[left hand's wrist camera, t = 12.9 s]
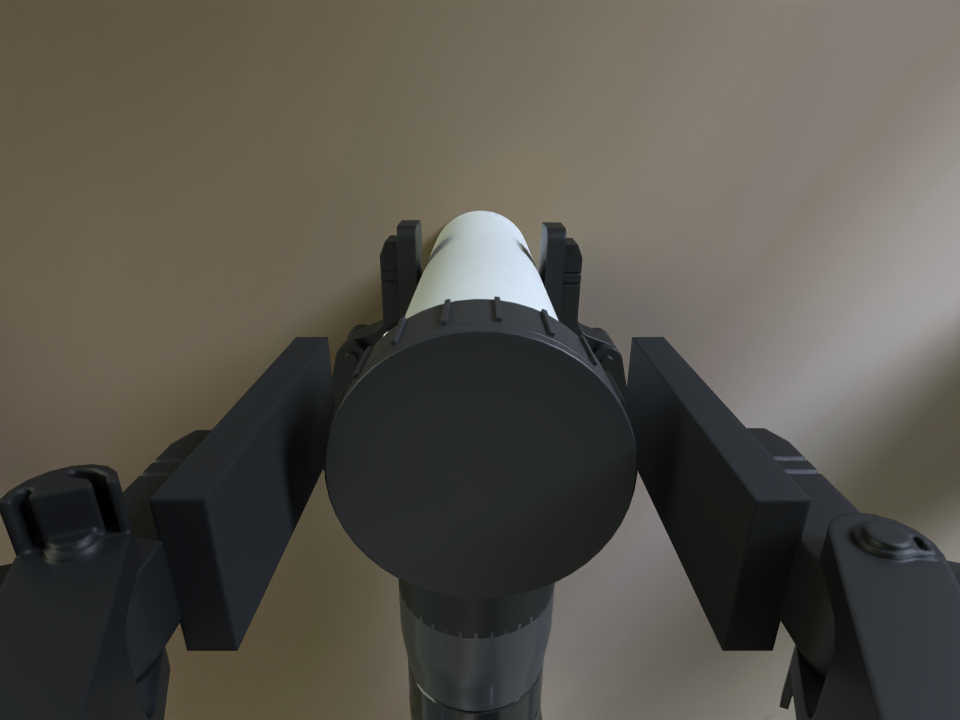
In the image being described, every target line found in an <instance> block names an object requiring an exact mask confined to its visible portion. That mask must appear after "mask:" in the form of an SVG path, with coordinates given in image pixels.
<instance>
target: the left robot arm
mask: <svg viewBox="0 0 960 720" xmlns="http://www.w3.org/2000/svg"><path fill="white" fill-rule="evenodd" d="M625 402H626V404H625V412H626V414H627V416H628V419H629V421H630V424H631V427H632V430H633V434H634V437H635V443H636V450H637V470H638V472H639V474H640V476H641V478H642V480H643V483H644V485H645V487H646V489H647V491H648V493H649V495H650V497H651V500H652V502H653V504H654V506H655V508H656V510H657V512H658V514H659V517H660V519H661V521H662V523H663V525H664V527H665V529H666V531H667V534H668V536H669V538H670V540H671V542H672V544H673V546H674V548H675V550H676V553H677V555H678V557H679V559H680V561H681V563H682V565H683V567H684V570H685V572H686V574H687V576H688V578H689V580H690V582H691V584H692V587H693V589H694V591H695V593H696V595H697V597H698V599H699V601H700V604H701V606H702V608H703V610H704V612H705V614H706V616H707V618H708V621H709V623H710V625H711V627H712V629H713V631H714V633H715V635H716V638H717V640H718V642H719V644H720V646H721V648H722V650H723V651H773V647H774V643H775V639H776V636H777V632H778V628H779V624H780V620H781V622H782V623H783V625H784V626H785V628H786V630H787V631H788V633H789V634H790V636H791V638H792V639H793V641H794V643H795V644H796V645H795V648H794V652H793V655H792V659H791V663H790V666H789V670H788V673H787V677H786V681H785V684H784V688H783V692H782V696H781V702H780V707H782V708H785V709H788V708H789V704H790V701H791V697H792V696H794V704H795V712H796V720H960V563H956V562H951V561H947V560H946V559H945V557H944V555H943V554H942V553H941V551H940V550H939V549H938V548H937V547H936V545H935V544H934V543H933V542H932V541H930V540H929V539H927V538H926V537H925V536H923V535H922V534H920V533H919V532H917V531H916V530H914V529H912V528H910V527H908V526H905V525H903V524H901V523H899V522H897V521H894V520H891V519H887V518H884V517H880V516H877V515H873V514H864V513H860V512H859V511H858V510H857V509H856V508H855V507H854V506H853V505H852V504H851V503H850V502H849V501H848V500H847V499H846V498H845V497H844V496H843V495H842V494H841V493H840V492H839V491H838V490H837V489H836V488H835V487H834V486H833V485H832V484H831V483H830V482H829V481H828V480H827V479H826V478H825V477H824V476H823V475H822V474H818V470H817V469H816V468H815V467H814V466H813V465H812V464H811V463H810V462H809V461H805V459H804V456H802V455H801V454H800V453H799V452H798V451H797V450H796V449H795V448H794V447H793V446H792V445H791V444H790V443H789V442H788V441H786V440H785V439H783V438H781V437H779V436H777V435H776V434H774V433H772V432H770V431H768V430H767V429H765V428H746V427H745V426H744V425H743V424H742V423H741V422H740V421H739V420H738V419H737V417H736V416H735V415H734V414H733V413H732V412H731V411H730V410H729V409H728V408H727V406H726V405H725V404H724V403H723V402H722V401H721V400H720V399H719V398H718V397H717V395H716V394H715V393H714V392H713V391H712V390H711V389H710V388H709V387H708V386H707V384H706V383H705V382H704V381H703V380H702V379H701V378H700V377H699V376H698V375H697V373H696V372H695V371H694V370H693V369H692V368H691V367H690V366H689V365H688V364H687V362H686V361H685V360H684V359H683V358H682V357H681V356H680V355H679V354H678V353H677V351H676V350H675V349H674V348H673V347H672V346H671V345H670V344H669V343H668V342H667V341H666V339H665V338H664V337H632V344H631V354H630V363H629V373H628V382H627V392H626V401H625ZM334 409H335V401H334V392H333V382H332V373H331V363H330V354H329V344H328V337H296V338H295V339H294V340H293V342H292V343H291V344H290V345H289V346H288V347H287V348H286V349H285V350H284V351H283V353H282V354H281V355H280V356H279V357H278V358H277V359H276V360H275V361H274V362H273V364H272V365H271V366H270V367H269V368H268V369H267V370H266V371H265V372H264V373H263V375H262V376H261V377H260V378H259V379H258V380H257V381H256V382H255V383H254V384H253V386H252V387H251V388H250V389H249V390H248V391H247V392H246V393H245V394H244V395H243V397H242V398H241V399H240V400H239V401H238V402H237V403H236V404H235V405H234V406H233V408H232V409H231V410H230V411H229V412H228V413H227V414H226V415H225V416H224V417H223V419H222V420H221V421H220V422H219V423H218V424H217V425H216V426H215V427H214V428H213V430H195V431H194V432H192V433H190V434H188V435H187V436H185V437H183V438H181V439H179V440H178V441H176V442H174V443H172V444H171V445H170V446H169V447H168V448H167V449H166V450H165V451H164V452H163V453H162V454H161V455H160V456H159V457H158V458H157V459H156V463H152V464H151V465H150V466H149V467H148V468H147V469H146V470H145V471H144V472H143V476H139V477H138V478H137V479H136V480H135V481H134V482H133V483H132V484H131V485H130V486H129V487H128V488H127V489H126V490H125V491H124V492H123V493H122V489H121V486H120V482H119V478H118V475H117V472H116V471H114V470H113V469H111V468H110V467H108V466H101V465H94V464H90V465H78V466H70V467H66V468H62V469H58V470H54V471H50V472H47V473H45V474H42V475H39V476H37V477H34V478H32V479H29V480H27V481H25V482H24V483H22V484H20V485H18V486H17V487H15V488H13V489H12V490H10V491H8V492H7V493H6V494H5V495H4V496H3V497H2V498H1V499H0V513H1V516H2V519H3V521H4V524H5V527H6V529H7V532H8V535H9V537H10V540H11V543H12V545H13V548H14V551H15V553H16V558H15V560H14V562H13V563H12V564H8V565H3V566H0V720H164V714H165V706H166V698H167V690H168V683H169V675H170V666H169V660H168V655H167V652H166V648H165V646H166V644H167V642H168V641H169V639H170V637H171V636H172V634H173V633H174V631H175V629H176V628H177V626H178V625H179V623H180V624H181V628H182V632H183V636H184V639H185V643H186V647H187V651H237V650H238V648H239V646H240V644H241V642H242V640H243V637H244V635H245V633H246V631H247V629H248V627H249V625H250V623H251V621H252V618H253V616H254V614H255V612H256V610H257V608H258V606H259V604H260V601H261V599H262V597H263V595H264V593H265V591H266V589H267V587H268V584H269V582H270V580H271V578H272V576H273V574H274V572H275V570H276V567H277V565H278V563H279V561H280V559H281V557H282V555H283V553H284V550H285V548H286V546H287V544H288V542H289V540H290V538H291V536H292V533H293V531H294V529H295V527H296V525H297V523H298V521H299V519H300V516H301V514H302V512H303V510H304V508H305V506H306V504H307V502H308V500H309V497H310V495H311V493H312V491H313V489H314V487H315V485H316V483H317V480H318V478H319V476H320V474H321V472H322V470H323V468H324V458H325V445H326V441H327V437H328V433H329V428H330V426H331V423H332V421H333V419H331V415H332V412H333V411H334Z"/></svg>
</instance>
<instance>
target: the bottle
mask: <svg viewBox="0 0 960 720" xmlns="http://www.w3.org/2000/svg"><path fill="white" fill-rule="evenodd" d="M495 296H497V297H500V300H502V301H508V302H514V303H517V304H521V305H524V306H527V307H531V308H534V309H536V310H538V311H540V312H541V310H542V309H545V310H547V312H548V315H549V316H551V317H553V318H554V319H556V320H557V321H558V318H557V316H556V314H555V311H554V309H553V306H552V304H551V302H550V299H549V297H548V294H547V292H546V290H545V287H544V285H543V283H542V280H541V278H540V275H539V273H538V271H537V268H536V266H535V263H534V261H533V259H532V256H531V254H530V251H529V249H528V247H527V244H526V242H525V240H524V238H523V236H522V234H521V232H520V231H519V229H518V228H517V227H516V226H515V225H514V224H513V223H512V222H511V221H510V220H508V219H507V218H505V217H503V216H501V215H499V214H496V213H493V212H488V211H473V212H468V213H465V214H462V215H460V216H458V217H456V218H455V219H453V220H452V221H451V222H449V223H448V224H447V225H446V226H445V227H444V229H443V230H442V231H441V233H440V234H439V236H438V238H437V241H436V243H435V245H434V248H433V250H432V252H431V255H430V257H429V260H428V262H427V265H426V267H425V269H424V272H423V274H422V277H421V279H420V281H419V284H418V286H417V289H416V291H415V293H414V296H413V298H412V301H411V303H410V305H409V308H408V310H407V313H406V315H405V317H406V319H407V318H409V317H411V316H413V315H415V314H417V313H419V312H421V311H423V310H426V309H429V308H431V307H434V306H437V305H440V304H444V302H445V300H446V299H450V300H451V302H454V301H459V300H470V299H494V297H495Z"/></svg>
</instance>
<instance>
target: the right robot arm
mask: <svg viewBox="0 0 960 720" xmlns="http://www.w3.org/2000/svg"><path fill="white" fill-rule="evenodd" d="M380 265H381V280H382V301H383V319H382V320H381V321H379V322H377V323H374V324H371V325H357V326H355V327H354V328H353V329H352V330H351V332H350V333H349V335H348V338H347V340H346V341H345V343H343V344H342V345H341V347H340V348H339V350H338V352H337V354H336V360H335V365H334V371H333V376H332V382H333V392H334V401H335V407H336V405H337V403H338V401H339V399H340V397H341V396H342V394H343V392H344V390H345V388H346V386H347V384H351V382H352V380H353V377H352V375H353V373H354V371H355V369H356V368H357V366H358V364H359V362H360V360H361V358H362V356H363V354H364V353H365V351H366V349H367V348H368V346H370V347H371V348H373V347H374V345H375V344H376V343H377V342H378V341H379V340H380V339H381V338H382V337H383V336H384V335H385V334H386V333H388V332H389V331H390V330H391V329H392V328H394V327H395V326H397V325H398V323H399V320H400V318H402V317H403V316H405V315H406V313H407V310H408V308H409V305H410V303H411V301H412V298H413V296H414V293H415V291H416V289H417V286H418V284H419V281H420V279H421V277H422V274H423V270H422V234H421V221H420V220H402V221H401V222H400V223H399V224H398V226H397V236H389V238H388V239H387V240H386V241H385V242H384V245H383V248H382V251H381V254H380ZM581 267H582V256H581V253H580V250H579V246H578V244H577V243H576V242H575V241H574V240H573V238H566V228H565V227H564V226H563V225H562V224H561V223H553V222H543V223H542V229H541V246H540V266H539V275H540V278H541V280H542V283H543V285H544V287H545V290H546V292H547V294H548V297H549V299H550V302H551V304H552V306H553V309H554V311H555V314H556V316H557V318H558V321H559V322H561V323H562V324H564V325H565V326H567V327H568V328H569V329H570V330H572V331H573V332H574V333H575V334H576V335H578V336H579V337H580V336H581V335H583V336H584V337H585V338H586V340H587V342H588V344H589V346H590V348H591V350H592V352H593V354H594V355H595V356H596V358H597V359H598V361H599V362H600V364H601V366H602V368H603V370H604V372H605V371H607V370H609V372H610V374H611V376H612V378H613V380H614V382H615V383H616V385H617V387H618V389H619V391H620V393H621V394H622V396H623V398H624V400H625V401H626V392H627V386H626V380H625V374H624V368H623V361H622V356H621V354H620V353H619V351H618V350H617V348H616V346H615V345H614V343H613V342H612V340H611V339H610V337H609V335H608V334H607V333H606V331H604V330H603V329H600V328H590V327H587V326H584V325H582V324H580V323H579V322H578V321H577V318H578V305H579V293H580V280H581ZM622 406H623V408H624V410H625V404H624V405H622ZM323 470H325V469H324V468H323ZM554 584H555V583H552V584H550V585H547V586H545V587H542V588H540V589H536V590H533V591H529V592H526V593H522V594H517V595H512V596H506V597H496V598H464V597H457V596H449V595H444V594H440V593H436V592H432V591H428V590H425V589H423V588H420V587H417V586H414V585H412V584H410V583H408V582H405V581H403V580H401V579H399V597H400V614H401V627H402V633H403V638H404V643H405V647H406V650H407V655H408V670H409V690H410V711H411V720H542V714H541V706H540V701H541V689H542V675H543V661H544V654H545V651H546V647H547V643H548V639H549V634H550V629H551V622H552V609H553V597H554Z"/></svg>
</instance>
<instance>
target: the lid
mask: <svg viewBox="0 0 960 720" xmlns="http://www.w3.org/2000/svg"><path fill="white" fill-rule="evenodd" d="M352 377H353V380H352V382H351V384H347V386H346V388H345V390H344V392H343V394H342V396H341V397H340V399H339V401H338V403H337V405H336V407H335V409H334V411H333V412H332V415H331V419H333V421H332V423H331V426H330V428H329V433H328V437H327V441H326V445H325V458H324V469H325V481H326V486H327V490H328V494H329V498H330V501H331V504H332V506H333V509H334V511H335V514H336V516H337V518H338V520H339V521H340V523H341V525H342V527H343V528H344V530H345V531H346V533H347V534H348V535H349V537H350V538H351V539H352V541H353V542H354V543H355V545H356V546H357V547H358V548H359V549H360V550H361V551H362V552H363V553H364V554H365V555H366V556H367V557H368V558H370V559H371V560H372V561H373V562H375V563H376V564H377V565H378V566H380V567H381V568H382V569H384V570H386V571H387V572H389V573H391V574H392V575H394V576H395V577H397V578H399V579H401V580H403V581H405V582H408V583H410V584H412V585H414V586H417V587H420V588H423V589H425V590H428V591H432V592H436V593H440V594H444V595H449V596H457V597H464V598H496V597H506V596H512V595H517V594H522V593H526V592H529V591H533V590H536V589H540V588H542V587H545V586H547V585H550V584H552V583H555V582H557V581H559V580H561V579H562V578H564V577H566V576H568V575H570V574H572V573H573V572H575V571H576V570H577V569H579V568H580V567H582V566H583V565H585V564H586V563H587V562H588V561H590V560H591V559H592V558H593V557H594V556H595V555H596V554H598V553H599V552H600V551H601V550H602V548H603V547H604V546H605V545H606V544H607V543H608V542H609V540H610V539H611V538H612V537H613V535H614V534H615V532H616V531H617V529H618V528H619V526H620V525H621V523H622V521H623V519H624V517H625V515H626V513H627V511H628V509H629V506H630V503H631V500H632V497H633V493H634V490H635V484H636V478H637V450H636V443H635V437H634V434H633V430H632V427H631V424H630V421H629V419H628V416H627V414H626V412H625V410H624V408H623V406H622V405H624V404H626V402H625V400H624V398H623V396H622V394H621V393H620V391H619V389H618V387H617V385H616V383H615V382H614V380H613V378H612V376H611V374H610V372H609V370H607V371H605V372H604V370H603V368H602V366H601V364H600V362H599V361H598V359H597V358H596V356H595V355H594V354H593V352H592V350H591V348H590V346H589V344H588V342H587V340H586V338H585V337H584V336H583V335H581V336H580V337H579V336H578V335H576V334H575V333H574V332H573V331H572V330H570V329H569V328H568V327H567V326H565V325H564V324H562V323H561V322H559V321H557V320H556V319H554V318H553V317H551V316H549V315H548V312H547V310H545V309H542V310H541V312H540V311H538V310H536V309H534V308H531V307H527V306H524V305H521V304H517V303H514V302H508V301H502V300H500V297H497V296H495V297H494V299H470V300H459V301H454V302H451V300H450V299H446V300H445V302H444V304H440V305H437V306H434V307H431V308H429V309H426V310H423V311H421V312H419V313H417V314H415V315H413V316H411V317H409V318H407V319H406V317H405V316H403V317H402V318H400V320H399V323H398V325H397V326H395V327H394V328H392V329H391V330H390V331H389V332H388V333H386V334H385V335H384V336H383V337H382V338H381V339H380V340H379V341H378V342H377V343H376V344H375V345H374V347H373V348H371V347H370V346H368V348H367V349H366V351H365V353H364V354H363V356H362V358H361V360H360V362H359V364H358V366H357V368H356V369H355V371H354V373H353V375H352Z"/></svg>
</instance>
